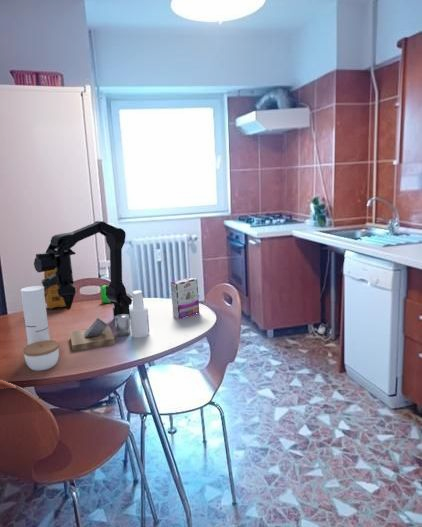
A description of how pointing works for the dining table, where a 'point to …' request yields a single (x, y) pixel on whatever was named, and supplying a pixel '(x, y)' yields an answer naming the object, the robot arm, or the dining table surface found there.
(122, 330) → the clear glass jar
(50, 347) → the lidded jar
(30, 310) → the cylindrical container
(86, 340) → the bore block
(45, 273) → the coffee package
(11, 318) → the dining table surface
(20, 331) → the dining table surface
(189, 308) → the candy bar box
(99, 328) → the square bit
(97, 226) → the robot arm
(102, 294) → the mechanical part
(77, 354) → the dining table surface
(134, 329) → the spray bottle
